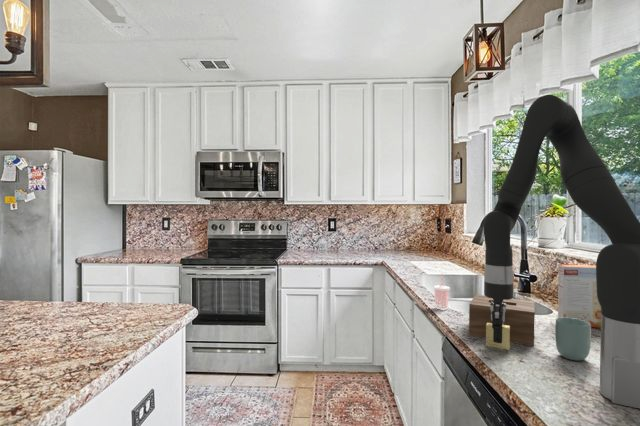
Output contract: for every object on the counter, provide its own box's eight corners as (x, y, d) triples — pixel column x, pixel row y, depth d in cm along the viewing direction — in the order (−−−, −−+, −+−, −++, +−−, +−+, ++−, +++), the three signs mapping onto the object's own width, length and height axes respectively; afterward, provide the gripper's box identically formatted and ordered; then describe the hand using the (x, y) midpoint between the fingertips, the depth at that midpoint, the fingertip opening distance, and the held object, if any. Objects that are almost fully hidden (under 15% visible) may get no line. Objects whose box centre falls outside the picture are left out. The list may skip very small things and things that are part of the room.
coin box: (534, 346, 109) (534, 312, 109) (468, 335, 118) (469, 303, 118) (533, 331, 122) (534, 301, 122) (475, 322, 131) (475, 294, 131)
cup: (574, 365, 96) (575, 326, 96) (548, 353, 103) (549, 318, 103) (597, 362, 98) (598, 324, 98) (570, 351, 105) (570, 316, 105)
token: (509, 349, 103) (509, 328, 103) (485, 345, 106) (486, 324, 106) (509, 346, 105) (509, 325, 105) (486, 343, 108) (487, 322, 108)
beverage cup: (441, 312, 144) (442, 276, 144) (430, 308, 149) (430, 273, 149) (452, 310, 147) (453, 275, 147) (441, 306, 152) (441, 272, 152)
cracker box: (601, 324, 131) (602, 265, 130) (610, 329, 125) (611, 267, 125) (556, 320, 134) (557, 263, 134) (563, 325, 128) (564, 265, 128)
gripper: (512, 286, 97) (512, 351, 97) (513, 278, 110) (513, 336, 110) (481, 283, 101) (481, 346, 101) (486, 275, 113) (485, 332, 113)
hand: (497, 340), depth 105 cm, fingers closed on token, 2 cm apart
